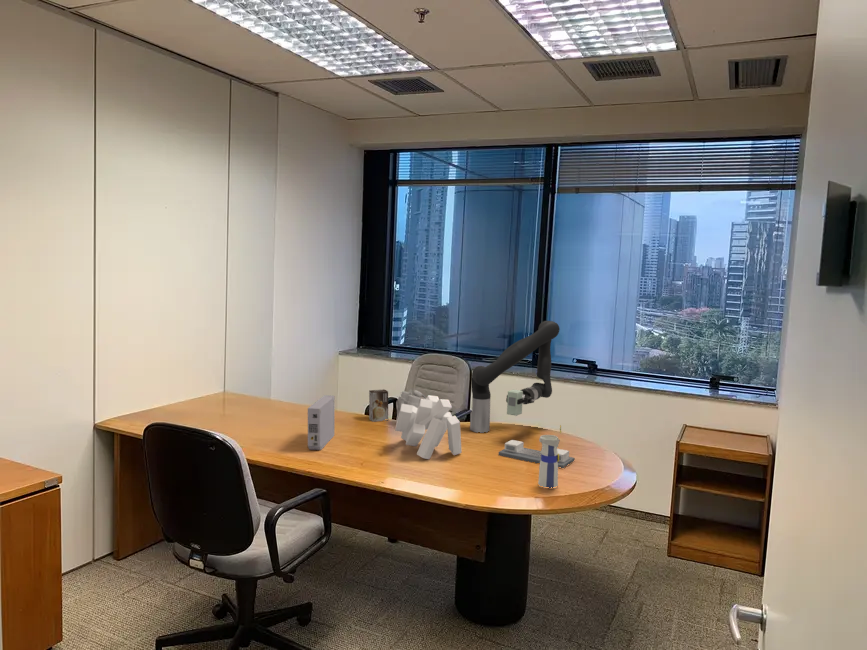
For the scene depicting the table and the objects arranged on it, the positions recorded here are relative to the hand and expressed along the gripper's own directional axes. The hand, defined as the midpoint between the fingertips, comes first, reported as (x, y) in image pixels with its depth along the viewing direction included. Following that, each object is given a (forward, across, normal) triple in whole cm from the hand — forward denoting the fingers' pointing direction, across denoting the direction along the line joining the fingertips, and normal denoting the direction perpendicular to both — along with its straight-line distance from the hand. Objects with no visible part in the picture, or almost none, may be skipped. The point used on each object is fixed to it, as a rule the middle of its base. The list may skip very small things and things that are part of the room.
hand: (512, 401), depth 299 cm
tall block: (-3, 0, +6) cm, 7 cm away
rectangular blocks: (+11, +18, +19) cm, 29 cm away
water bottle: (+39, +36, +21) cm, 58 cm away
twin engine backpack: (-1, -56, +22) cm, 60 cm away
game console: (+51, -74, +23) cm, 93 cm away
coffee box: (+2, -79, +22) cm, 82 cm away
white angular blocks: (+32, -27, +22) cm, 47 cm away
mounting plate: (+11, +18, +20) cm, 29 cm away
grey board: (+11, +18, +21) cm, 30 cm away
